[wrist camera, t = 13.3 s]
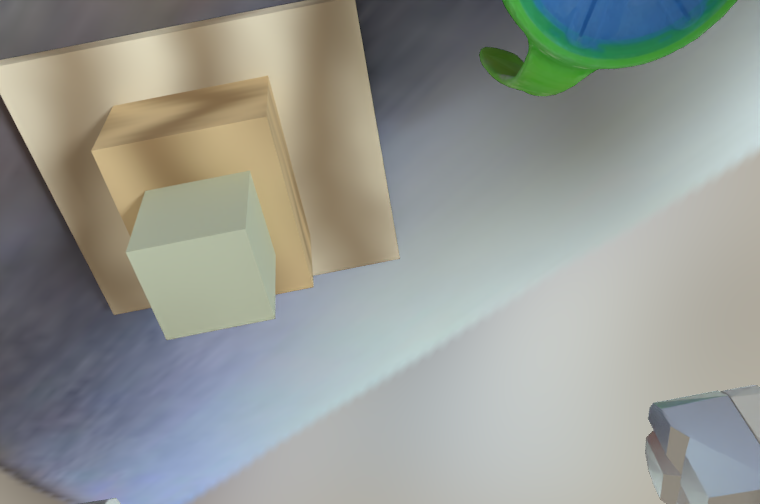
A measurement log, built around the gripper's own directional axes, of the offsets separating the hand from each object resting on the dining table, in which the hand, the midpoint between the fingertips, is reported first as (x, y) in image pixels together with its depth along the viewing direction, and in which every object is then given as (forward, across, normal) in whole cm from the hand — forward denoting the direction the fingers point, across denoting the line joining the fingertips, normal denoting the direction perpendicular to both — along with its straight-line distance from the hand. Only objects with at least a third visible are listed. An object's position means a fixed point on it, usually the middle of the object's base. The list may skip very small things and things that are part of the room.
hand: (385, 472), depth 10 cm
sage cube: (+22, +8, +9) cm, 25 cm away
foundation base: (+28, +8, +9) cm, 31 cm away
